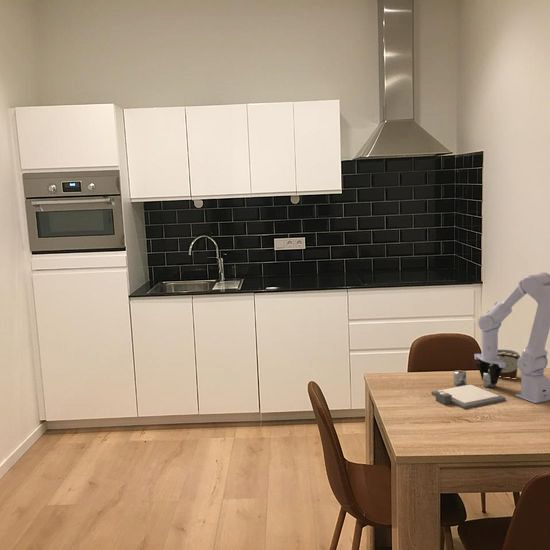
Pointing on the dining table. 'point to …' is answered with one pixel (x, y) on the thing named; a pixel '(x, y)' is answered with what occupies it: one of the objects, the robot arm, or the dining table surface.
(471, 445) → the dining table surface
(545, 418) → the dining table surface
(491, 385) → the steel spacer
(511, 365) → the food container
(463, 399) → the kitchen scale
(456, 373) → the steel spacer
